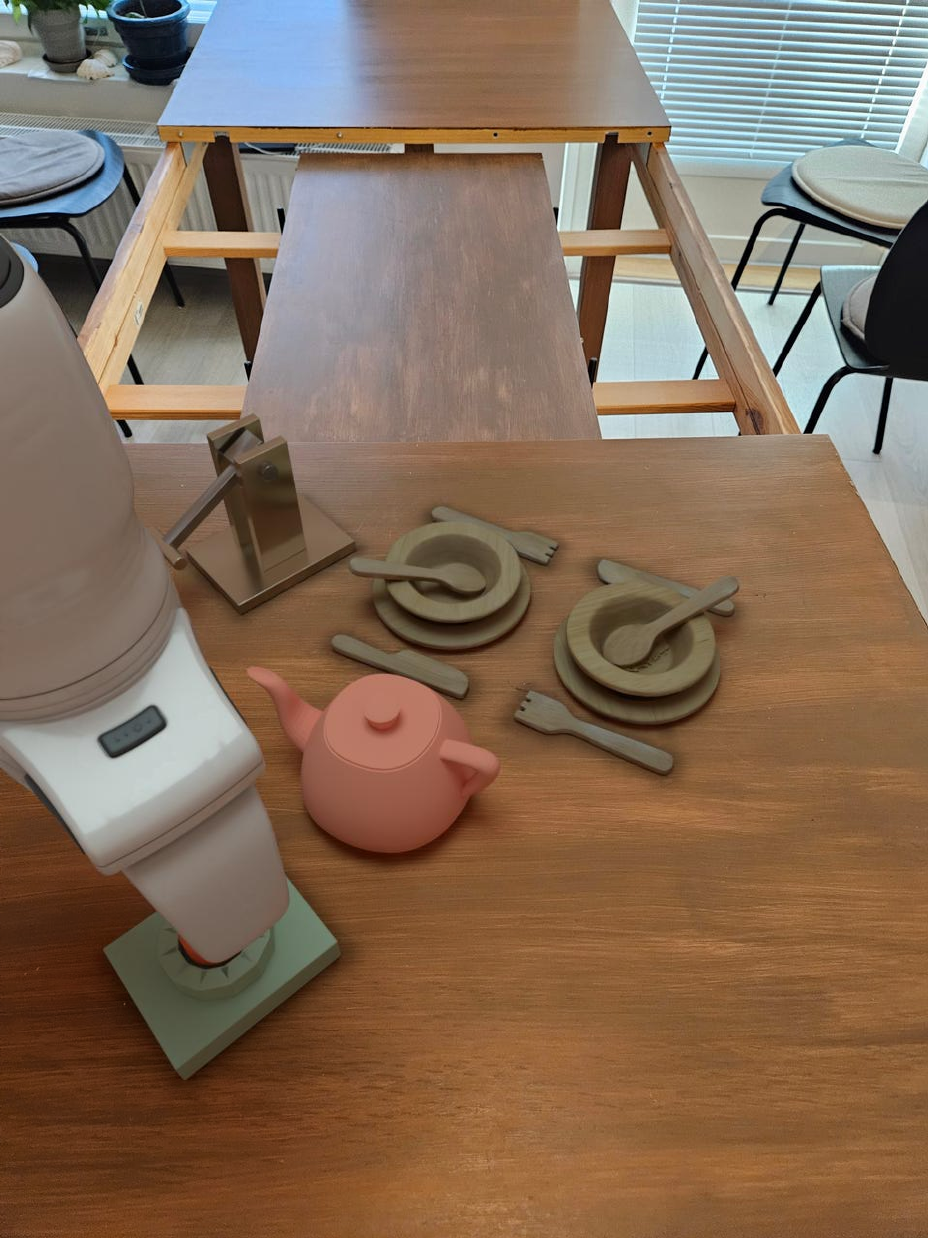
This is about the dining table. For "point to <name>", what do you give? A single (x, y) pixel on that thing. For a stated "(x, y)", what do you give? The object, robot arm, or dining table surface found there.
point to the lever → (202, 505)
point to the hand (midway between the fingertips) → (167, 833)
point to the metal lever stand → (264, 524)
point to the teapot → (382, 760)
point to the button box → (217, 981)
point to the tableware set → (584, 643)
